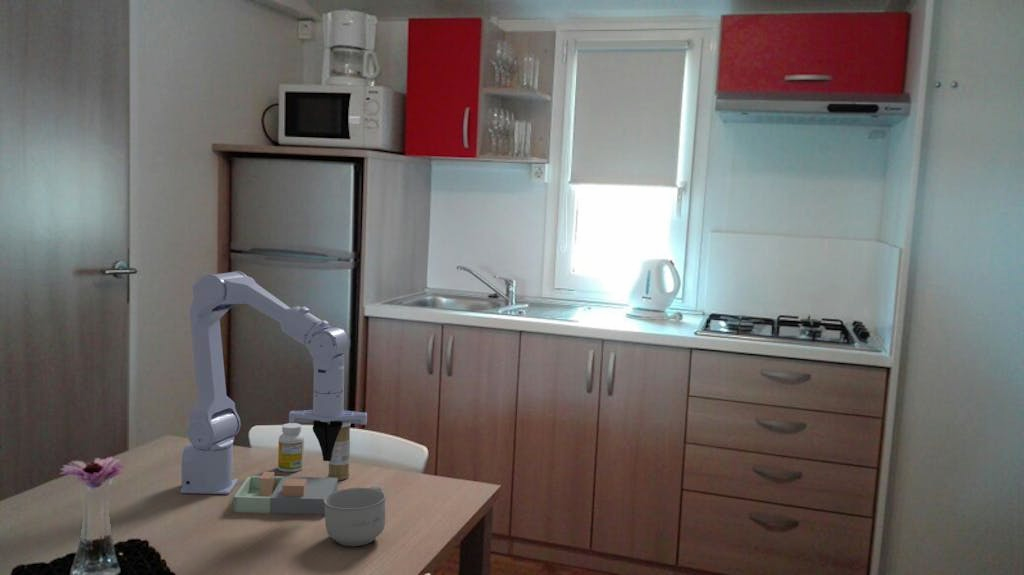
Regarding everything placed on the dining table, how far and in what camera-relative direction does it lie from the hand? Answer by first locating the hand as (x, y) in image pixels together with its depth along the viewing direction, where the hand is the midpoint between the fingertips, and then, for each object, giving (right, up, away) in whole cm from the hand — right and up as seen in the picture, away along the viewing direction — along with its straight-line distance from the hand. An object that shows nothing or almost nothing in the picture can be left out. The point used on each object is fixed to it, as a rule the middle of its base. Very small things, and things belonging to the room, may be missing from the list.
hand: (327, 459), depth 164 cm
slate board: (-5, -9, +3) cm, 11 cm away
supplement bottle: (-13, -7, +23) cm, 27 cm away
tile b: (-6, -6, 0) cm, 9 cm away
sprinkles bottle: (-2, -8, +18) cm, 20 cm away
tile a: (-12, -6, +5) cm, 14 cm away
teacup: (+8, -12, -12) cm, 19 cm away
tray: (-14, -9, +3) cm, 17 cm away
